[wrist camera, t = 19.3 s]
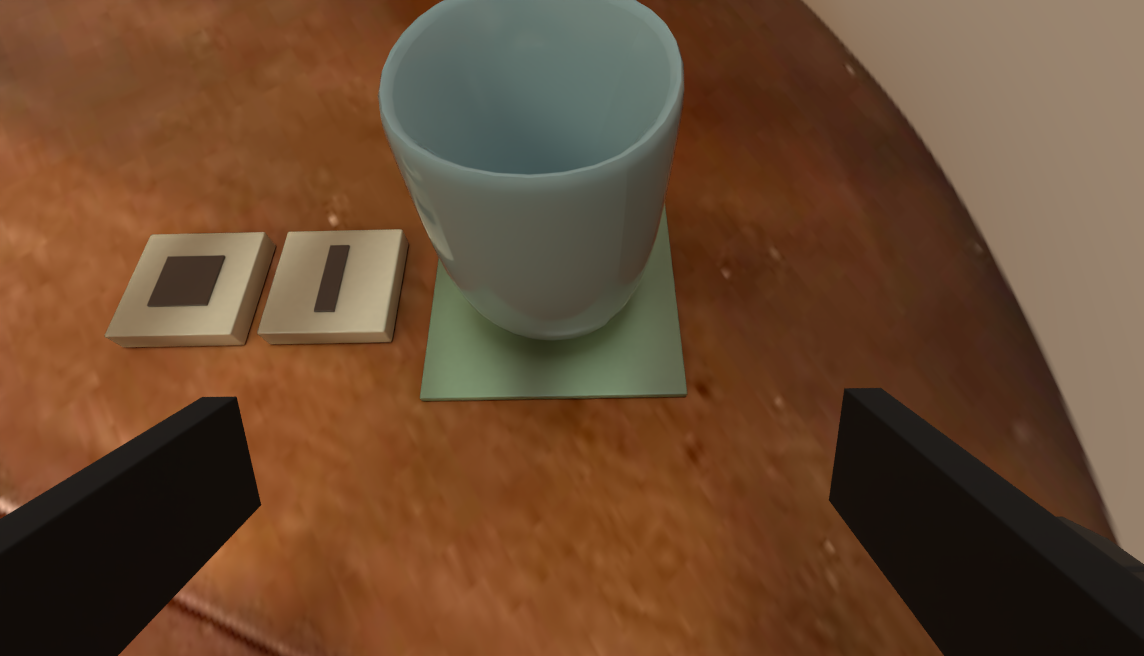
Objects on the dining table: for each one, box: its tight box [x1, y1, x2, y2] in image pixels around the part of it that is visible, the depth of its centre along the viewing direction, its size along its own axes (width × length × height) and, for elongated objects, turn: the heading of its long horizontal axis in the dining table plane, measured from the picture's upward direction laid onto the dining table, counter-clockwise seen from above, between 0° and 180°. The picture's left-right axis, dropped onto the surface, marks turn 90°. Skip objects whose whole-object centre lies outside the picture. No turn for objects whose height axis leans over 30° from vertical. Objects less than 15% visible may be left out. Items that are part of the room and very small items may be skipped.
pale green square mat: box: [105, 204, 687, 401], centre depth 22 cm, size 22×10×1 cm, turn 90°
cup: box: [378, 0, 684, 341], centre depth 17 cm, size 8×8×10 cm
